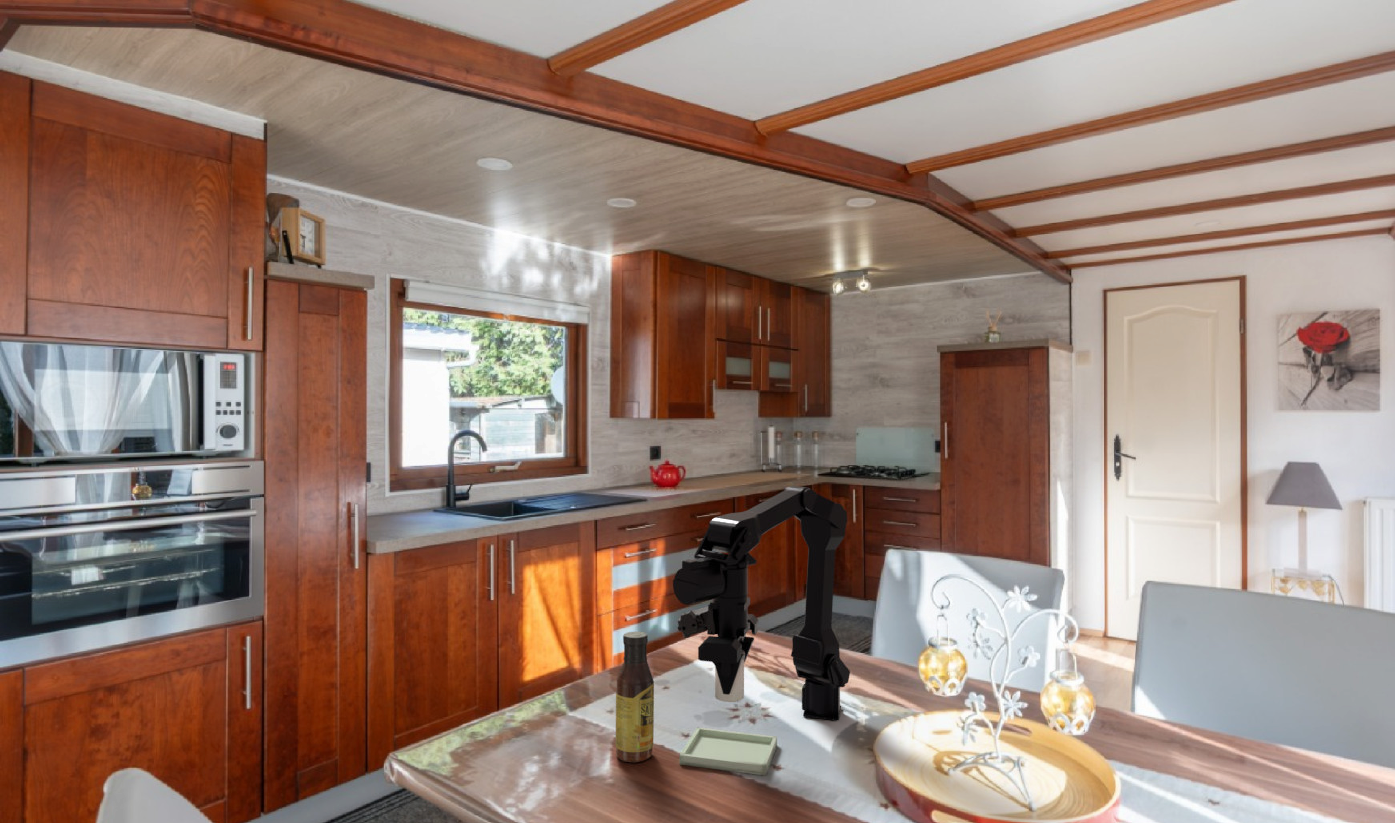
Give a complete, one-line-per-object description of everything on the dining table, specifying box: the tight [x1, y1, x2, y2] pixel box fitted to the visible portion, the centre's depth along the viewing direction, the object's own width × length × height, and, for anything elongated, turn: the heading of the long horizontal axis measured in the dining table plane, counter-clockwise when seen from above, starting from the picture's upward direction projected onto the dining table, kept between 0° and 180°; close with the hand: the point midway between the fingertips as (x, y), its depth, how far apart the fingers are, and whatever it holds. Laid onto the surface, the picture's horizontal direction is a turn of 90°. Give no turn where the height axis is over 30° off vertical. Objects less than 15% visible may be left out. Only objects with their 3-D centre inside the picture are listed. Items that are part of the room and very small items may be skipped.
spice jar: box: [714, 650, 745, 703], centre depth 125 cm, size 5×5×7 cm
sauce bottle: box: [615, 631, 655, 763], centre depth 125 cm, size 6×6×20 cm
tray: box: [679, 726, 778, 777], centre depth 125 cm, size 14×11×2 cm
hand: (730, 688), depth 125 cm, fingers closed on spice jar, 5 cm apart
